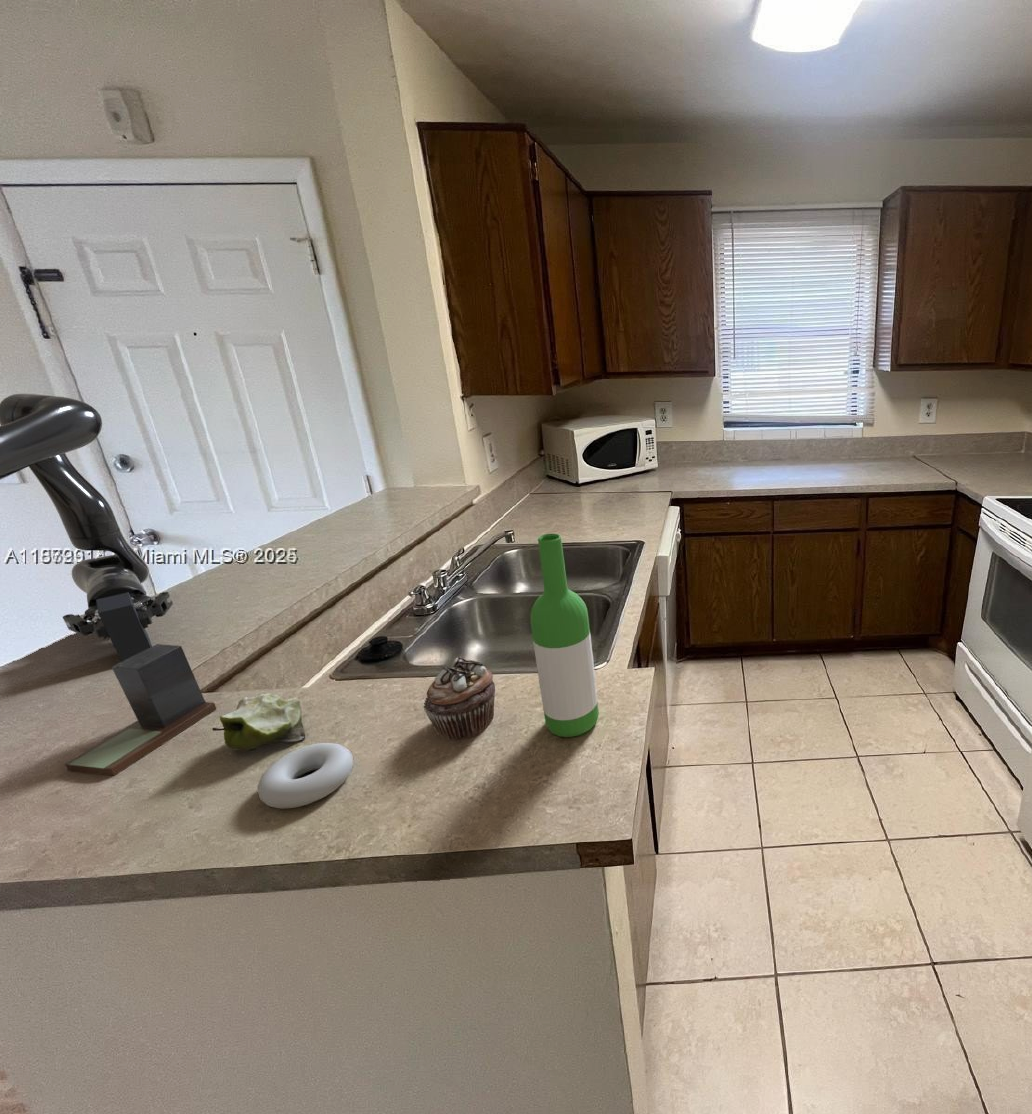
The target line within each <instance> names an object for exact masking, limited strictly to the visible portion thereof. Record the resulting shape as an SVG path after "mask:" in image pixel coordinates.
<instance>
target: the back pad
mask: <svg viewBox="0 0 1032 1114" xmlns="http://www.w3.org/2000/svg"><path fill="white" fill-rule="evenodd" d="M96 603H97V609H98V614H99V616H100V618H101V620H102V622H103V624H104V626H105V628H106V631H107V633H108V635H109V639H110V641H111V643H112V645H113V647H114V649H115V651H116V654H117V655H118V657H119V660H120V662H122V661H124V660H126V659H128V658H130V657H132V656H134V655H136V654H138V653H140V652H142V651H144V650H146V649H148V648H150V647H152V646H153V645H152V641H151V639H150V637H149V634H148V632H147V631H146V628H144V629H143V627H142V625H141V623H140V621H139V618H138V615H137V612H136V608H135V606H134V603H133V601H132V599H131V597H130V594H129V592H128V593H123V594H119V595H114V596H110V597H106V598H101V599H97V600H96Z"/></svg>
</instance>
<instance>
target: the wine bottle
mask: <svg viewBox="0 0 1032 1114" xmlns="http://www.w3.org/2000/svg"><path fill="white" fill-rule="evenodd" d="M537 542H538V549H539V550H538V551H539V559H540V567H541V574H542V581H543V583H542V584H543V593H542V594H541V595H539V597H537V598H536V600H535V602H534V604H533V605H532V607H531V610H530V628H531V635H532V642H533V649H534V656H535V663H536V670H537V676H538V677H537V678H538V684H539V691H540V697H541V703H542V711H543V714H544V722H545V725H546V728H547V730H548V731H549V732H551V734H553V735H555V736H558V737H561V738H572V737H578V736H580V735H584V734H585V733H587V732H588V731H590V730H591V729H592V728H593V727H594V726H595V725H596V723H597V721H598V718H599V713H600V712H599V702H598V701H599V700H598V691H597V681H596V674H595V673H596V672H595V662H594V655H593V646H592V645H593V643H592V636H591V629H590V628H591V627H590V619H589V611H588V608H587V605H586V603H585V602H584V600H583V599H582V598H581V596H579V594H577V593H576V592H574V591H572V590H570V588H569V587H568V580H567V574H566V573H567V572H566V565H565V557H564V550H563V549H564V548H563V541H562V536H561V535H559V534H557V533H545V534H542V535H540V536H539V537H538V538H537Z"/></svg>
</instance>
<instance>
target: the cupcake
mask: <svg viewBox="0 0 1032 1114" xmlns="http://www.w3.org/2000/svg"><path fill="white" fill-rule="evenodd" d="M483 665H484V664H483V663H482V662H481V661H476V660H471V659H469V660H468V659H464V657H462V656H458V657H456V658H455V659H454V660H453V666H451V667H450V666H442V670H441V671H440V673H438V675H436V676H435V678H434V680H433V682H431V684H430V685H429V687H428V689H427V691H426V697H425V699H424V702H423V711H424V712H425V714H426V715H427V717H428V720H429V721H430V722H431V724H432V726H433V728H434V730H435V732H436V734H437V735H438V736H439V737H440V738H441V739H443V740H447V741H461V740H467V739H470V738H471V737H474V736H477V735H478V734H480V733H483V732H484V730H485V729H486V728H487V727H488V726H490V725H491V723H492V721H493V719H494V714H495V698H496V684H495V681H493V679H494V677H493V673H492V672H491V671H490V670H489V669H488V668H486V667H485V666H483Z"/></svg>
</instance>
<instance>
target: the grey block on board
mask: <svg viewBox="0 0 1032 1114" xmlns="http://www.w3.org/2000/svg"><path fill="white" fill-rule="evenodd" d="M111 669H112V671H113V673H114V676H115V677H116V680H117V681H118V683H119V685H120V687H121V689H122V691H123V693H124V696H125V698H126V700H127V702H128V703H129V705H130V708H131V710H132V711H133V713H134V715H135V718H136V719H137V720H136V721H134V722H132V723H131V724H129V725H128V726H127V725H126V727H124V728H122V729H121V730H119V731H117V732H116V733H114V734H112V735H111V736H109V737H107V738H106V739H104V740H102V741H100V742H98V743H97V744H95V745H93V746H92V747H90V748H89V749H87V750H85V751H83V752H82V753H80V754H78V755H76V756H75V757H73V758H72V759H70V760H68V761H67V762H65V763H64V766H65V768H66V769H67V771H68V772H77V773H84V774H85V773H87V774H96V775H106V776H116V775H118V774H119V773H121V772H122V771H123V770H125V769H127V768H129V767H130V766H131V765H133V764H135V763H136V762H138V761H139V760H141V759H142V758H144V757H145V756H147V755H148V754H150V753H151V752H153V751H155V750H156V749H157V748H159V747H160V746H162V745H163V744H166V743H167V742H168V741H170V740H171V739H174V737H176V736H177V735H179V734H180V733H183V732H184V731H185V730H187V729H188V728H190V727H191V726H193V725H194V724H196V723H198V722H199V721H201V720H202V719H204V718H206V717H207V716H208V715H210V714H211V713H212V712H214V711H216V710H217V706H216V704H215V702H210V701H206V700H205V698H204V696H203V693H202V691H201V688H200V687H199V683H198V681H197V679H196V677H195V674H194V672H193V670H192V668H191V665H190V663H189V661H188V658H187V656H186V654H185V651H184V649H183V647H182V646H181V645H173V644H161V643H156V644H154V645H152V647H150V648H148V649H146V650H144V651H142V652H140V653H138V654H136V655H134V656H132V657H130V658H128V659H126V660H124V661H122V662H121V661H120V662H118V663H116V664H114V665H112V666H111Z"/></svg>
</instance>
